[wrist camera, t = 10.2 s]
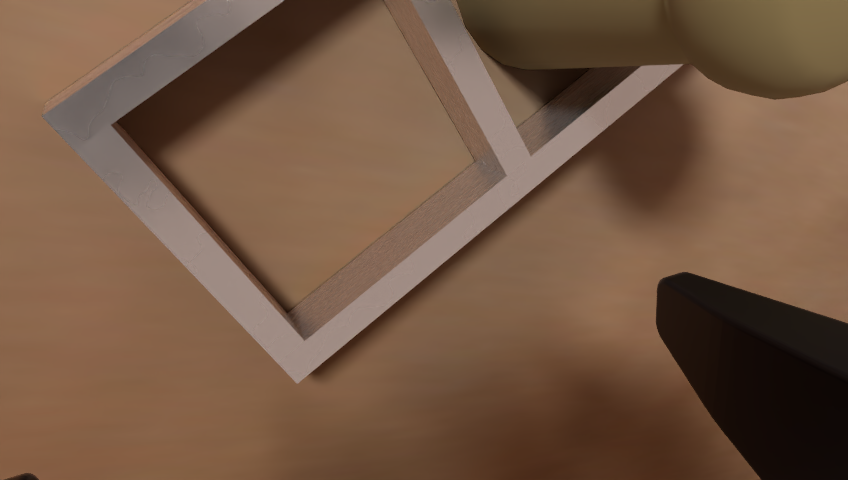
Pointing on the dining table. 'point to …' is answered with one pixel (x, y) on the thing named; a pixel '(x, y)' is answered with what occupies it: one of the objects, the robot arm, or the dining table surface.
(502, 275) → the dining table surface
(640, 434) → the dining table surface
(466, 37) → the grey divided tray
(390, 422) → the dining table surface
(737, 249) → the dining table surface
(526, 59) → the cork
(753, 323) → the robot arm
